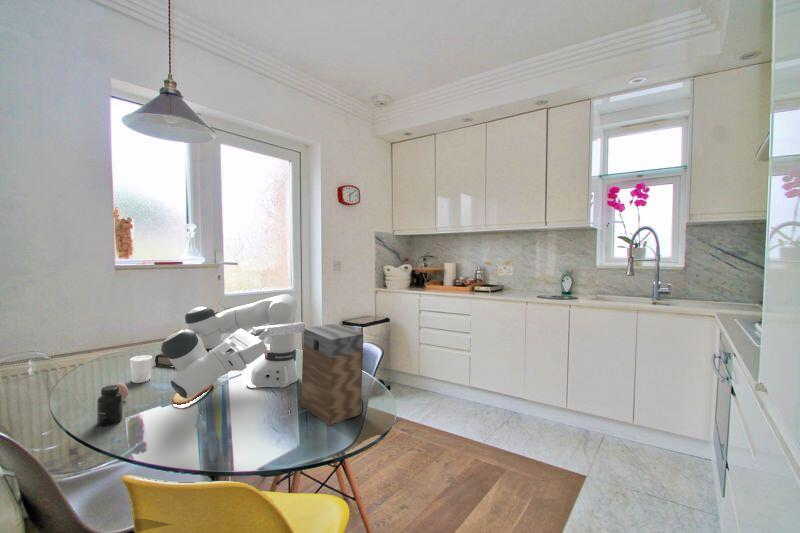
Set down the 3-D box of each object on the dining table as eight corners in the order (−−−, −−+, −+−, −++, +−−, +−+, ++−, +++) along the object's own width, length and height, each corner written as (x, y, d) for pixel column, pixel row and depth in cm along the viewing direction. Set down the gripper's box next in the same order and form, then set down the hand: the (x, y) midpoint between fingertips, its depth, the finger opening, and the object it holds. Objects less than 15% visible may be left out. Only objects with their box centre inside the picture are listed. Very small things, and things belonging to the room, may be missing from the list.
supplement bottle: (94, 428, 119) (94, 392, 118) (100, 419, 125) (99, 385, 125) (120, 424, 122) (120, 389, 122) (124, 415, 128) (124, 382, 128)
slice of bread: (177, 411, 134) (177, 401, 134) (161, 396, 145) (161, 387, 145) (226, 396, 148) (226, 387, 147) (208, 384, 159) (208, 376, 159)
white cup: (155, 379, 161) (155, 357, 160) (135, 385, 154) (135, 362, 154) (147, 375, 165) (147, 354, 165) (127, 380, 159) (126, 358, 158)
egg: (108, 405, 135) (108, 386, 135) (113, 399, 140) (113, 381, 140) (125, 403, 137) (125, 384, 137) (129, 397, 142) (129, 379, 142)
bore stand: (328, 425, 127) (331, 339, 125) (301, 405, 142) (303, 328, 140) (360, 414, 137) (363, 334, 135) (332, 396, 151) (334, 323, 149)
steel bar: (255, 338, 118) (256, 329, 118) (252, 336, 120) (252, 327, 120) (304, 331, 130) (305, 323, 130) (300, 329, 132) (301, 321, 132)
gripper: (222, 354, 123) (258, 330, 130) (244, 372, 108) (283, 343, 115) (212, 340, 120) (249, 316, 128) (233, 356, 105) (274, 328, 113)
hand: (265, 329), depth 121 cm, fingers closed on steel bar, 3 cm apart
